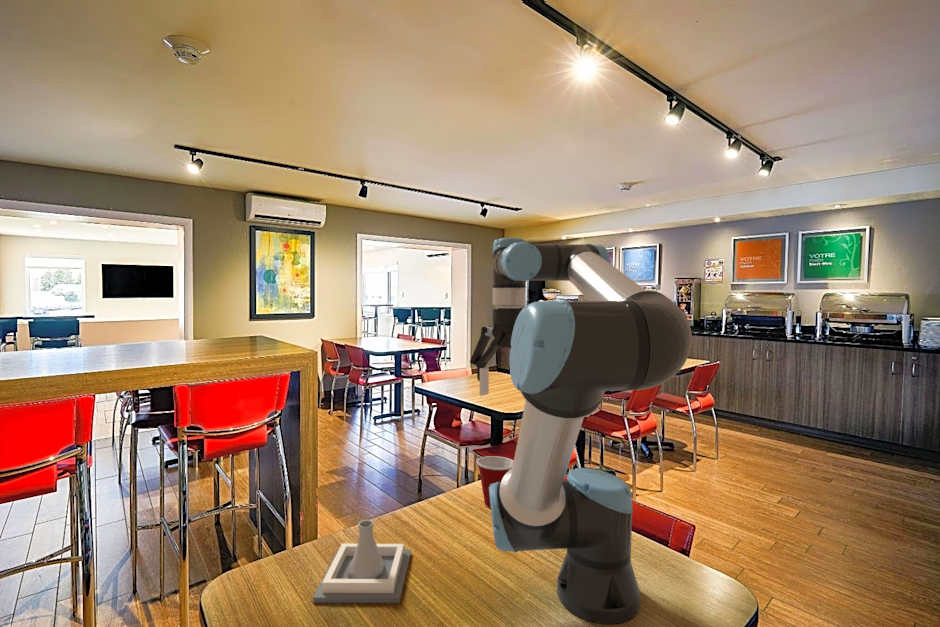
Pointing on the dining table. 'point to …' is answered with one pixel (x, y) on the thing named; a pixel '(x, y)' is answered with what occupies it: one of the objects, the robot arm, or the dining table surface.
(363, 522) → the flask
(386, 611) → the dining table surface
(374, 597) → the holder
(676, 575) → the dining table surface
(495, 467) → the plastic cup
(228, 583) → the dining table surface
